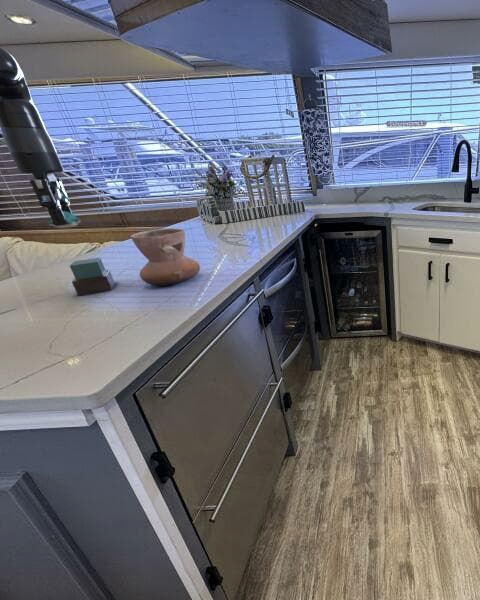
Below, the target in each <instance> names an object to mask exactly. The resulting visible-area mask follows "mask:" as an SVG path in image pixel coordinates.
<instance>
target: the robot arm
mask: <svg viewBox="0 0 480 600" xmlns="http://www.w3.org/2000/svg"><path fill="white" fill-rule="evenodd" d="M0 131H1V134H2V138H3V140H4V143H5V146H6V147H7V149H8V152H9V155H10V156H11V158H12V160H13V163H14V164H15V166H16V168H17V171H18V172H19V173H20V174H23V175H27V174H29V175H30V174H32V175H33V178H34V179H29V183H30V185H31V187H32V189H33V192H34V193H35V195H36V198H37V199H38V202H39V205H40V207H42V208H44V209H45V210H47V212H48V214H49V216H50V220H51V219H52V221H53V223H54V225H56V226H60V225H66V224H67V221H66V219H65V216H64V214H63V212H62V211H65V212H69V213H71V214H73V212H72V209H71V207H70V203H71V199H70V198H69V196H68V193H67V190H66V189H65V186H64V184H63V181H62V179H61V178H60V177H56V175H55V174H56V173H58V174H59V173H64V172H65V168H64V166H63V163H62V161H61V159H60V156H59V154H58V151H57V150H56V146H55V145H54V142H53V140H52V138H51V137H50V135H49V133H48V131H47V130H46V126H45V123H44V122H43V120H42V118H41V115H40V113H39V110H38V109H37V107H36V105H35V104H34V102H33V98H32V95H31V92H30V89H29V86H28V84H27V80H26V78H25V76H24V73H23V70H22V68H21V67H20V65H19V63H18V62H17V60H16V59H15V58H14V56H13V55H12V54H11V53H10V52H9V51H7V50H6V49H5V48H3V47H1V46H0Z"/></svg>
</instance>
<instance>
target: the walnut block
mask: <svg viewBox="0 0 480 600" xmlns="http://www.w3.org/2000/svg"><path fill="white" fill-rule="evenodd" d="M105 270H106V269H105ZM71 283H72V285H73V288H74V290H75V292H76V294H77V296H78V297H79V296H85V295H91V294H96V293H101V292H107V291H112V290H113V288H114V286H115V283H116V281H115V279H114V277H113V275H112V273H111V270H110V269H107V270H106V272H105V273H104V275H103V276H99V277H93V278H87V279H81V280H76V279H75V278H73V279H72V281H71Z"/></svg>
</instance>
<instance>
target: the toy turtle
mask: <svg viewBox="0 0 480 600" xmlns="http://www.w3.org/2000/svg"><path fill="white" fill-rule="evenodd" d="M62 212H63V214H64V216H65V219H66V221H67V224H66V225H60V226H56V225H54V223H53V221H52V219H51V218H50V221H48V225H49V226H51V227H55V228H58V229H65V228H73V227H76V226H78V225H79V224H80V223H81V222H82V221H81V219H80V218H77V216H76V215H74V214H73V213H72V214H71V213H69V212H65V211H62Z"/></svg>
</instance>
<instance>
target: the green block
mask: <svg viewBox="0 0 480 600" xmlns="http://www.w3.org/2000/svg"><path fill="white" fill-rule="evenodd" d="M69 268H70V270H71V273H72V274H73V278H74V279H76V280H81V279H87V278H93V277H99V276H103V275H104V273H105V272H106V268H105V266H104V263H103V260H102V259H101V257H94V258H88V259H81V260H74V261H73V262H72V263H70V265H69Z"/></svg>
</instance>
